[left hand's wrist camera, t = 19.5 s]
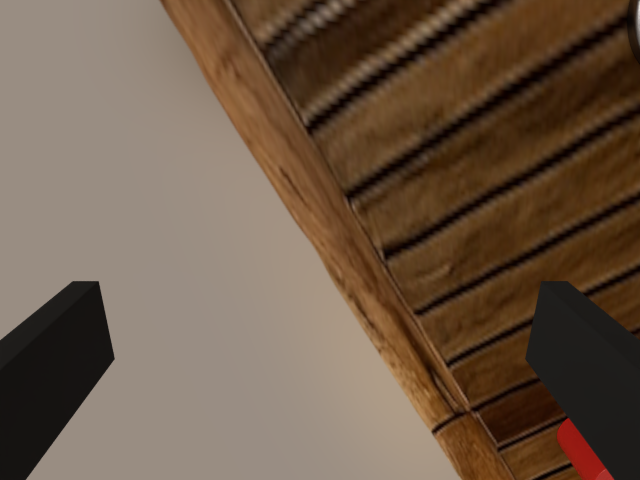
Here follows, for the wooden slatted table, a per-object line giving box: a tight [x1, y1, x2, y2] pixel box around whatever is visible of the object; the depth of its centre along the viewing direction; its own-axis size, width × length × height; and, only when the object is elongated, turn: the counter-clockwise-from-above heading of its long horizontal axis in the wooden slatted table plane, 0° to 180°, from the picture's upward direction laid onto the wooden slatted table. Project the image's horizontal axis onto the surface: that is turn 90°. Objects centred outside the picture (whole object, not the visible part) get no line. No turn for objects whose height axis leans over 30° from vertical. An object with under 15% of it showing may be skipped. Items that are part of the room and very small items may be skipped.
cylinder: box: [557, 418, 614, 480], centre depth 54 cm, size 8×8×8 cm
